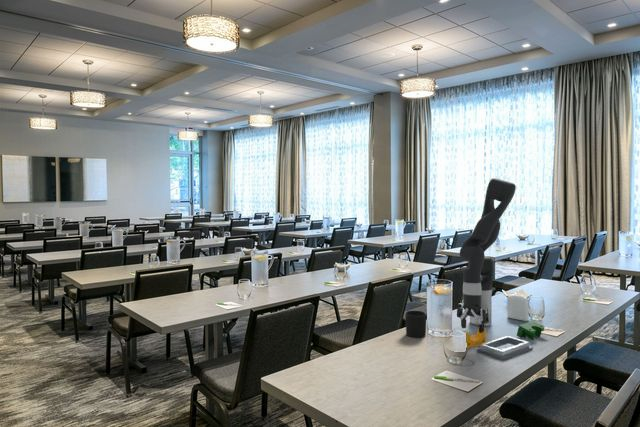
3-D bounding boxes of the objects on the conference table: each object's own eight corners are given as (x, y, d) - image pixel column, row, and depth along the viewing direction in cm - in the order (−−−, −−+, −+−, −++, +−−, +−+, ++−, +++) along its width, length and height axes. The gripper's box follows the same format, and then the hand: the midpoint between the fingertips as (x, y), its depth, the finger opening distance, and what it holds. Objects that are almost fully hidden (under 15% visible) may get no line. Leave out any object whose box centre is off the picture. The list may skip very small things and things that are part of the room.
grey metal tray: (477, 351, 186) (477, 344, 186) (506, 341, 197) (506, 334, 197) (503, 360, 176) (503, 352, 176) (532, 349, 187) (532, 342, 187)
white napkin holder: (505, 317, 233) (506, 293, 233) (510, 316, 236) (510, 292, 235) (525, 322, 225) (525, 297, 225) (529, 320, 228) (530, 295, 227)
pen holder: (430, 334, 209) (430, 312, 208) (419, 339, 202) (419, 317, 201) (412, 330, 215) (412, 309, 215) (401, 335, 208) (401, 313, 208)
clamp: (529, 349, 200) (528, 334, 196) (517, 342, 204) (516, 327, 200) (546, 335, 205) (546, 319, 200) (533, 328, 209) (533, 313, 205)
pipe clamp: (477, 340, 200) (478, 326, 199) (486, 343, 196) (486, 328, 195) (458, 345, 194) (458, 330, 193) (466, 348, 190) (466, 333, 190)
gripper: (452, 291, 198) (453, 328, 198) (481, 296, 186) (481, 335, 187) (463, 288, 202) (464, 325, 203) (492, 293, 191) (492, 332, 191)
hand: (472, 330), depth 195 cm, fingers open, 8 cm apart
